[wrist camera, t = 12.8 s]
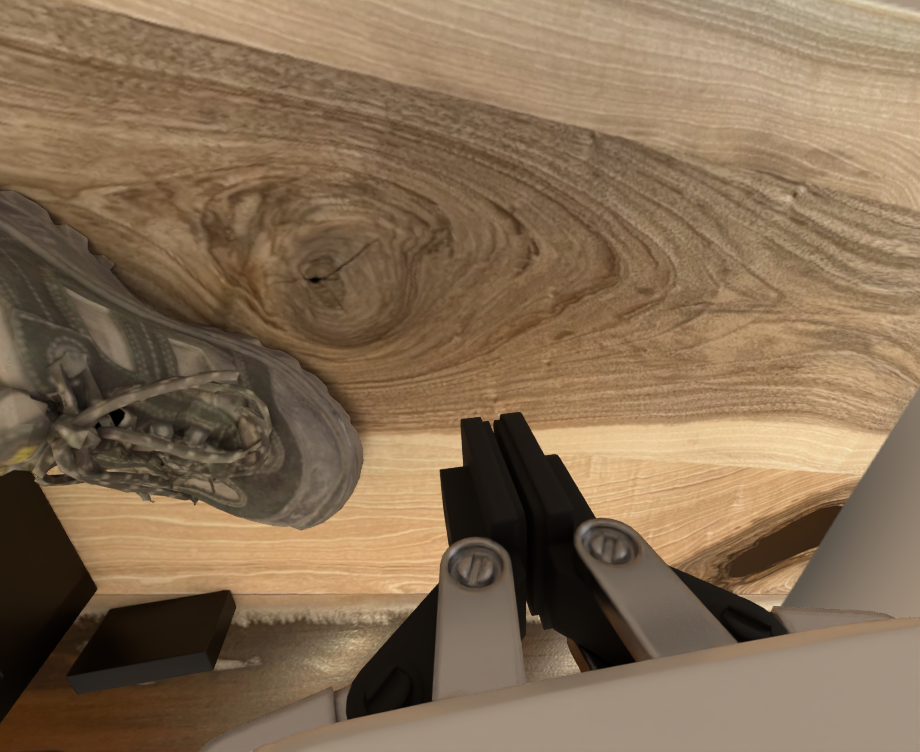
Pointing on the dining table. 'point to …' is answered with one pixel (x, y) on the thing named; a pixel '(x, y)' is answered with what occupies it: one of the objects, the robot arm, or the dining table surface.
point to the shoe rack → (64, 597)
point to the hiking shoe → (154, 392)
